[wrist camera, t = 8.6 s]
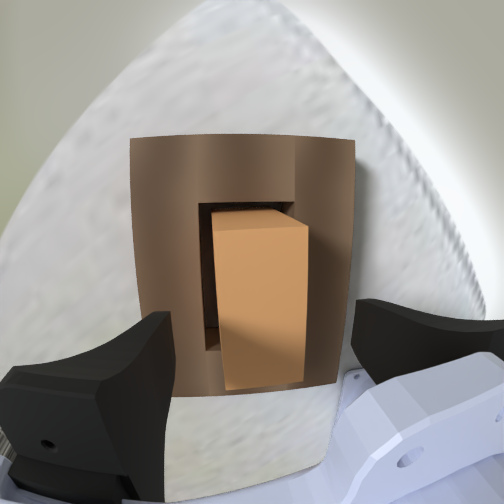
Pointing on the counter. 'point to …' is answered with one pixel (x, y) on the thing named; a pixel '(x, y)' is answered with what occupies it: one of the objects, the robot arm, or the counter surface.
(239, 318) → the keyed peg
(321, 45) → the counter surface
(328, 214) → the keyed socket
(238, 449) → the counter surface
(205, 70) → the counter surface
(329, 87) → the counter surface
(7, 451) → the cereal box
